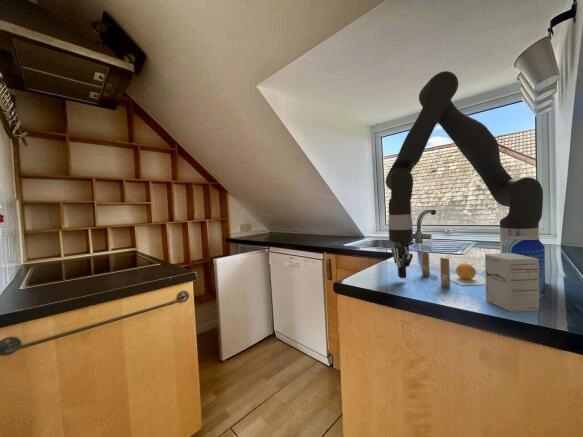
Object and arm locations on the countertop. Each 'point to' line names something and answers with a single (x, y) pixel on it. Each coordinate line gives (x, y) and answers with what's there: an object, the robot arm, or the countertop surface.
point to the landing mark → (474, 281)
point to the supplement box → (512, 281)
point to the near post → (445, 272)
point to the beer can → (528, 253)
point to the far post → (425, 263)
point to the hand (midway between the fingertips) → (402, 277)
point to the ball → (466, 271)
